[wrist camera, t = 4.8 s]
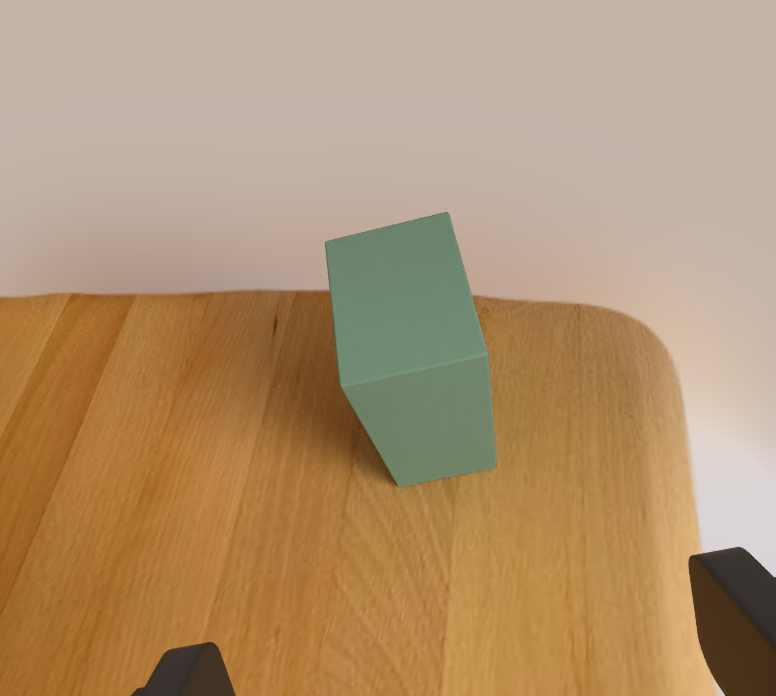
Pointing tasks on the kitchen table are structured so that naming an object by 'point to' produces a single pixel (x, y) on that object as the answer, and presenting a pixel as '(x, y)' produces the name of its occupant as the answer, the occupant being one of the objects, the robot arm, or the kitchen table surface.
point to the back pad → (412, 349)
